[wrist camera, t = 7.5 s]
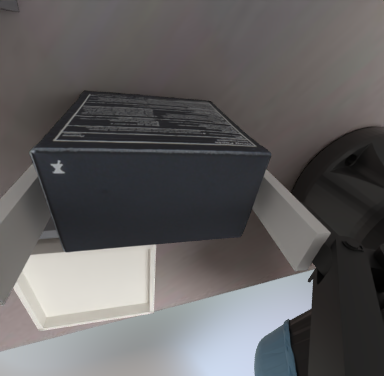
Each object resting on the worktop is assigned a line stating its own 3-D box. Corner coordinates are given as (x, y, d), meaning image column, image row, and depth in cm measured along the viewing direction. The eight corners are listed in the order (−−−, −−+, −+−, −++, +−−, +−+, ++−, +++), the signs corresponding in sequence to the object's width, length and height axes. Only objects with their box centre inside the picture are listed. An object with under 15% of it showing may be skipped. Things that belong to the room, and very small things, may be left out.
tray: (154, 230, 26) (156, 244, 24) (152, 298, 34) (153, 313, 32) (6, 240, 22) (-5, 257, 20) (44, 314, 30) (39, 331, 29)
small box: (92, 165, 20) (58, 260, 11) (80, 88, 16) (16, 142, 8) (202, 165, 22) (243, 243, 14) (213, 99, 18) (277, 148, 10)
